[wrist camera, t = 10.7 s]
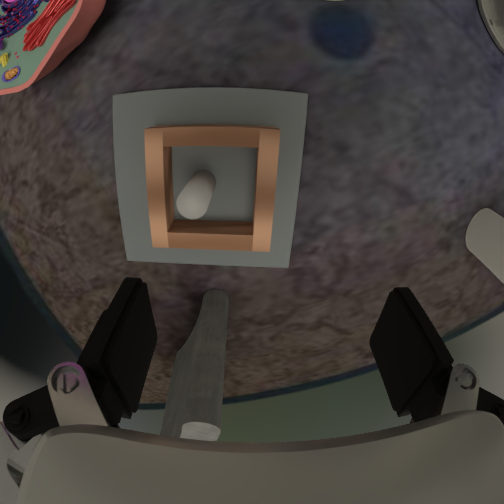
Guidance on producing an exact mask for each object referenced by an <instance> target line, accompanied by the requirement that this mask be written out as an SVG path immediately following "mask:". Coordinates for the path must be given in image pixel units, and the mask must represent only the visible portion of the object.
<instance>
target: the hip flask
mask: <svg viewBox="0 0 504 504" xmlns="http://www.w3.org/2000/svg"><path fill="white" fill-rule="evenodd" d="M228 304H229V297H228V295H227V294H226V293H225V292H224V291H222V290H219V289H211V290H208V291H207V292H206V293H205V294H204V296H203V301H202V306H201V310H200V313H199V316H198V319H197V322H196V324H195V326H194V328H193V330H192V332H191V334H190V336H189V338H188V339H187V341H186V342H185V344H184V345H183V346H182V348H181V349H180V350H179V351H178V352H177V353H176V358H175V362H174V367H173V372H172V376H171V381H170V386H169V391H168V396H167V401H166V406H165V412H164V417H163V423H162V429H161V434H160V435H162V436H170V437H178V438H186V439H195V440H206V441H216V440H217V439H218V437H219V435H220V433H221V417H222V398H223V381H224V364H225V348H226V333H227V318H228Z"/></svg>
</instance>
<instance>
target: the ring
mask: <svg viewBox="0 0 504 504" xmlns="http://www.w3.org/2000/svg"><path fill="white" fill-rule="evenodd" d="M144 138H145V166H146V183H147V197H148V209H149V219H150V229H151V238H152V246H153V247H157V248H183V249H209V250H234V251H260V252H270V244H271V234H272V223H273V212H274V202H275V190H276V179H277V167H278V155H279V143H280V129H279V128H277V127H269V126H253V125H226V124H188V125H162V126H153V127H149V128H146V129H144ZM172 146H231V147H255V148H257V159H256V175H255V191H254V208H253V222H241V221H213V220H177V219H174V201H173V176H172Z"/></svg>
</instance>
